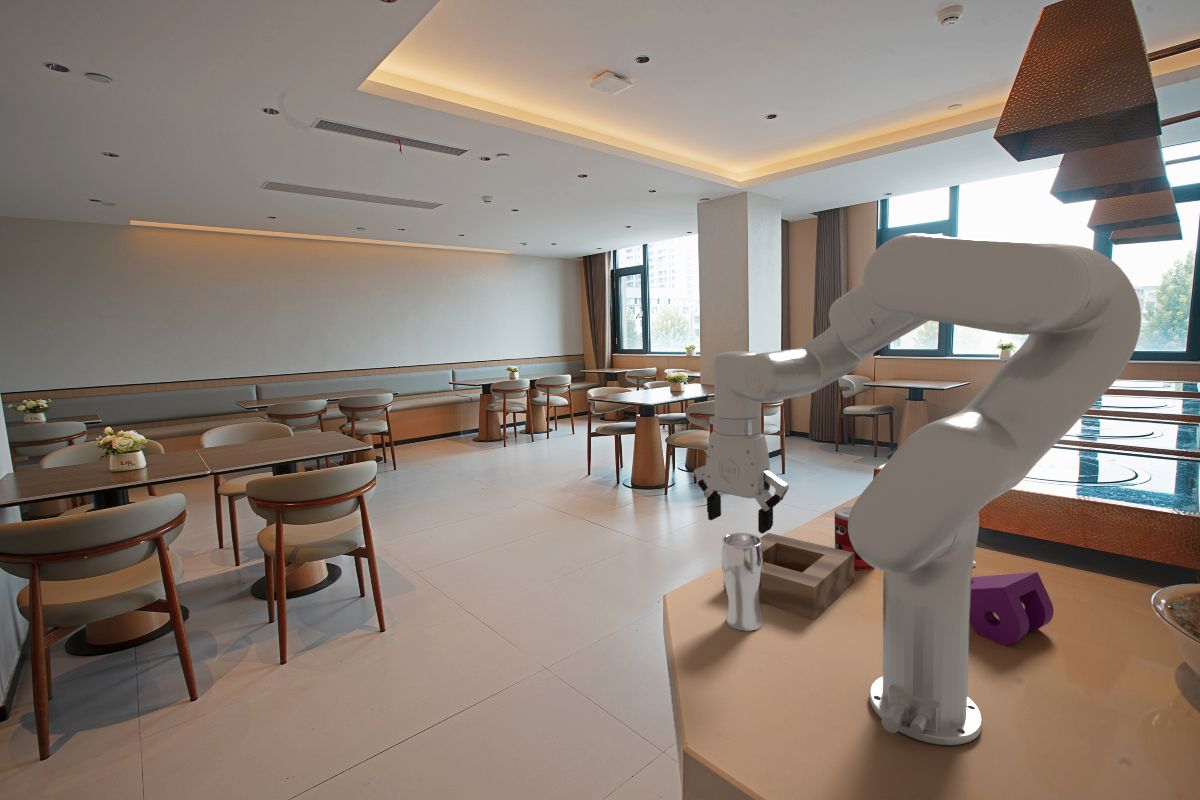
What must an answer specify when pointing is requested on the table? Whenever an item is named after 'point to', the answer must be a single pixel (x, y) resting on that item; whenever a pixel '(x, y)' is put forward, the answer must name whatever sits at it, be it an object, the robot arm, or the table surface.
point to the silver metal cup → (743, 579)
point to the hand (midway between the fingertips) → (738, 524)
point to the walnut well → (803, 575)
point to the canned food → (846, 536)
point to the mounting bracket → (1009, 606)
